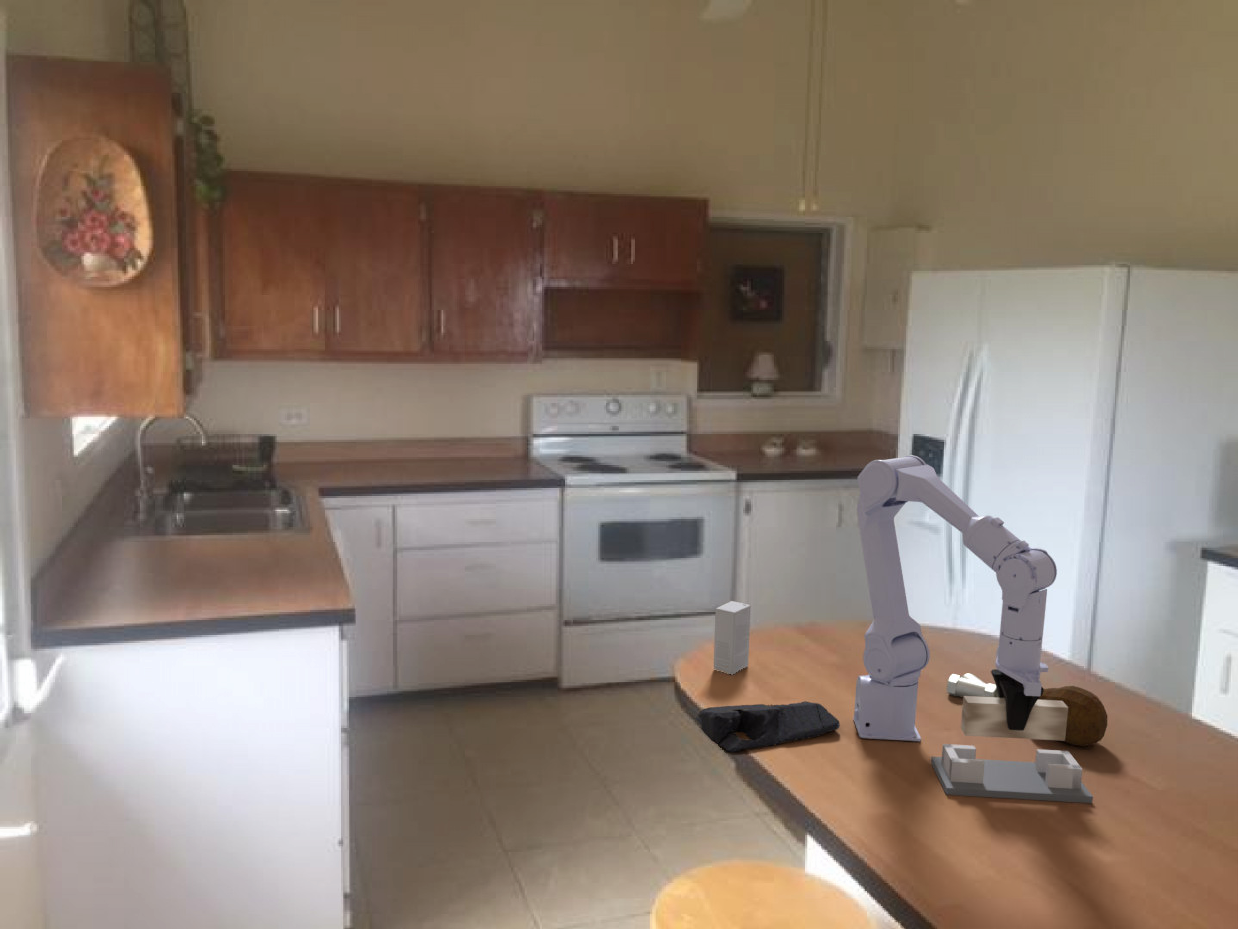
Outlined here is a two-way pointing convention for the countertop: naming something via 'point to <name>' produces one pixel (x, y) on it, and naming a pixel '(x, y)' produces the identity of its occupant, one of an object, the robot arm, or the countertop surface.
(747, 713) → the black folded cloth
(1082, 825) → the countertop surface
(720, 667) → the skincare box
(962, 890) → the countertop surface
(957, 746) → the board
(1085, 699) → the potato
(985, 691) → the pipe fitting
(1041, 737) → the slat
